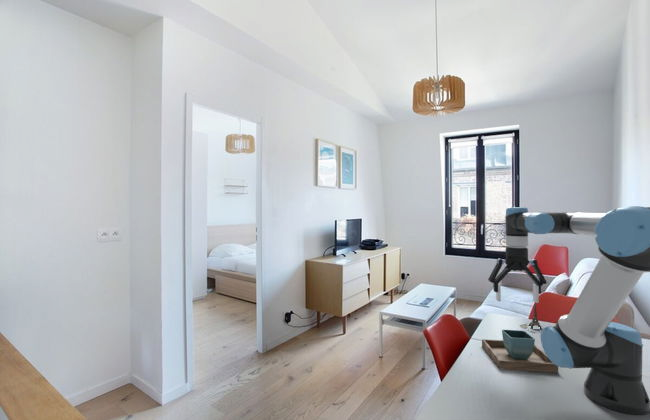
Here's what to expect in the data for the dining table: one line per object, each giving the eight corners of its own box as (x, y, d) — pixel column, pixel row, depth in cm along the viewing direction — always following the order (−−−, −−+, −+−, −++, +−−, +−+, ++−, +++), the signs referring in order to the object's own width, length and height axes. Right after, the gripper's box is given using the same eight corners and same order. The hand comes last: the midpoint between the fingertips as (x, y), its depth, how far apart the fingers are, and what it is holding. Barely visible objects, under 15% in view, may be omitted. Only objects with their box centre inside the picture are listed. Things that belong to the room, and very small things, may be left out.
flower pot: (524, 352, 131) (524, 330, 130) (535, 362, 122) (535, 339, 122) (501, 351, 132) (501, 329, 132) (510, 361, 123) (510, 337, 123)
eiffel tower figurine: (534, 322, 167) (534, 297, 167) (555, 329, 158) (555, 302, 158) (514, 327, 161) (514, 300, 161) (535, 334, 152) (535, 306, 152)
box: (558, 372, 116) (558, 364, 116) (499, 368, 119) (499, 360, 119) (531, 349, 135) (531, 341, 135) (481, 346, 138) (481, 339, 138)
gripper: (546, 246, 128) (546, 299, 128) (479, 245, 132) (479, 297, 132) (557, 248, 121) (557, 305, 121) (486, 247, 125) (486, 302, 125)
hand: (516, 301), depth 127 cm, fingers open, 13 cm apart
